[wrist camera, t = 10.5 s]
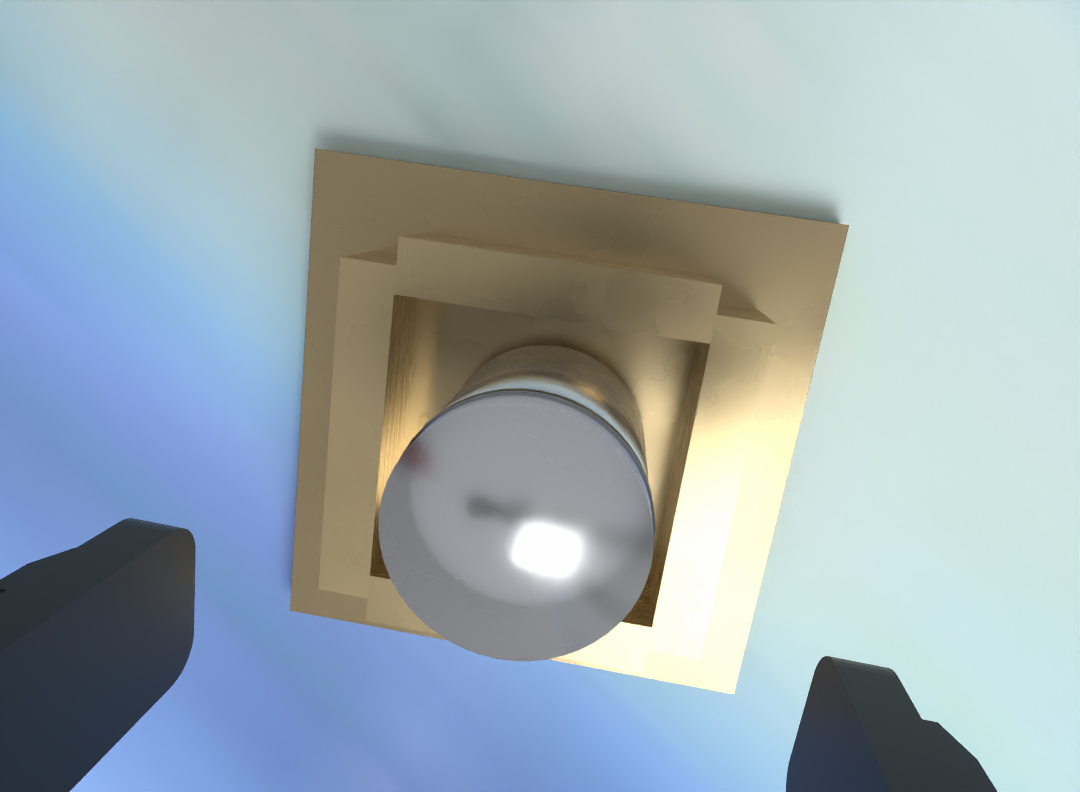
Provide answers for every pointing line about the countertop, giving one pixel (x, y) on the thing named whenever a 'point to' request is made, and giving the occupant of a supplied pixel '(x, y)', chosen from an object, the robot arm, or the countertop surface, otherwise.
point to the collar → (572, 322)
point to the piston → (524, 508)
